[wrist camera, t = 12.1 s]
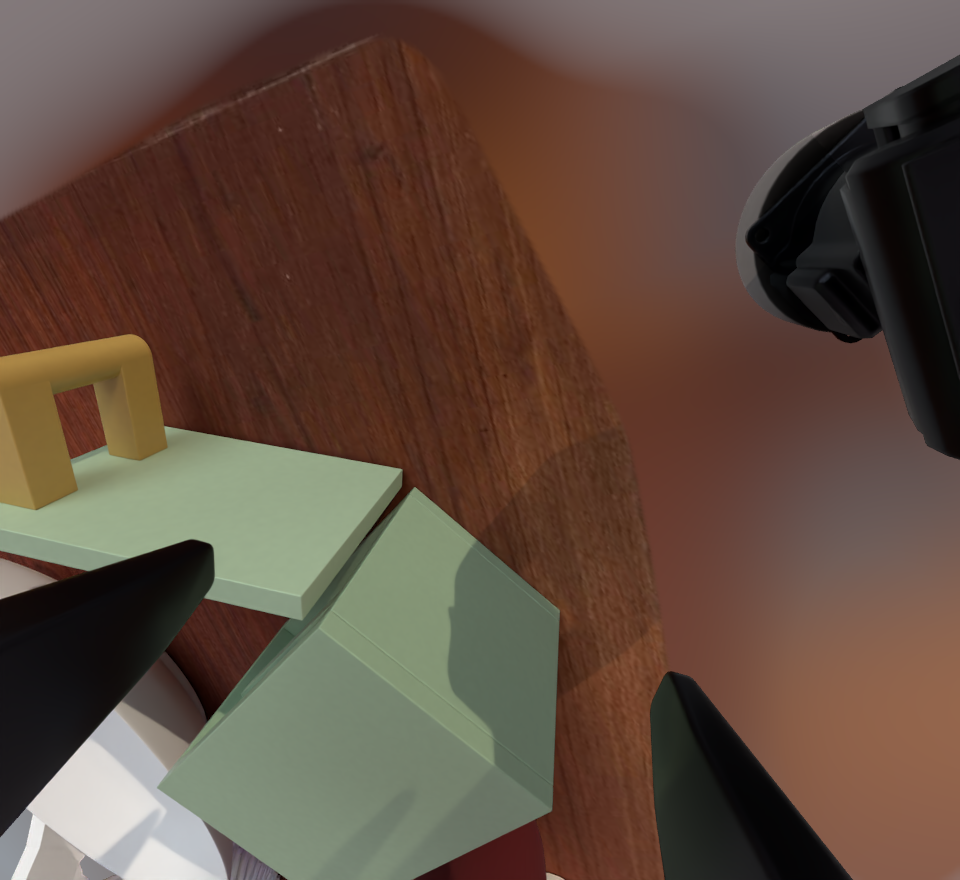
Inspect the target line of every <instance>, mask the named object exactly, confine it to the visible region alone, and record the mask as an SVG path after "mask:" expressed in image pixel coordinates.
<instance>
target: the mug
mask: <svg viewBox="0 0 960 880" xmlns="http://www.w3.org/2000/svg"><path fill="white" fill-rule="evenodd" d="M415 880H547V879H546V868H545V858H544V850H543V844H542V839H541V836H540V832H539V829H538V826H537V823H536V820H533V821H531V822H529V823H527V824H525V825H523V826H521V827H519V828H516V829H514V830H512V831H510V832H508V833H506V834H504V835H502V836H500V837H498V838H496V839H494V840H492V841H490V842H488V843H486V844H484V845H482V846H480V847H478V848H476V849H474V850H472V851H470V852H468V853H466V854H463V855H461V856H459V857H457V858H455V859H453V860H451V861H449V862H447V863H445V864H443V865H441V866H439V867H437V868H435V869H433V870H431V871H429V872H427V873H425V874H423V875H421V876H419V877H417V878H416V879H415Z"/></svg>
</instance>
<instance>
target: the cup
mask: <svg viewBox="0 0 960 880" xmlns="http://www.w3.org/2000/svg"><path fill="white" fill-rule="evenodd" d="M546 879H547V880H565V879H563V878H561V877H559V876H556V875H553V874H550V873H546Z"/></svg>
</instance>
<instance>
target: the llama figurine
mask: <svg viewBox="0 0 960 880" xmlns="http://www.w3.org/2000/svg"><path fill="white" fill-rule="evenodd" d="M85 855H86V854H84V853H83V852H81V851H80V850H79V849H77V848H76V847H75V846H73V845H72V844H70V843H69V842H68V841H66V840H65V839H64V838H63V837H61V836H60V835H59V834H57V833H56V832H55V831H53V830H52V829H51V828H50V827H48V826H47V825H46V824H45V823H43V822H42V821H41V820H40V819H39V818H37V817H36V816H35V815H34V814H33V817H32V822H31V827H30V831H29V835H28V840H27V844H26V848H25V850H24V852H23V855H22V857H21V859H20V861H19V863H18V866H17V868H16V871H15V872H14V875H13V877H12V879H11V880H89V879H88V878H87V877H86V876H84V875H83V874H82V872H83V871H82V868H81V866H80V861H81V860H82V859H83V858H84V857H85ZM104 880H124V879H123V878H121V877H119V876H118V875H113V876H111V877H109V878H106V879H104Z"/></svg>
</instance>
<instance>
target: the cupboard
mask: <svg viewBox="0 0 960 880" xmlns="http://www.w3.org/2000/svg"><path fill="white" fill-rule="evenodd" d="M559 620H560V610H559V609H557V608H556V607H555V606H554V605H553V604H551V603H550V602H549V601H548V600H547V599H546V598H544V597H543V596H542V595H541V594H540V593H539V592H537V591H536V590H535V589H534V588H533V587H532V586H530V585H529V584H528V583H527V582H526V581H525V580H523V579H522V578H521V577H520V576H519V575H518V574H516V573H515V572H514V571H513V570H512V569H510V568H509V567H508V566H507V565H506V564H505V563H503V562H502V561H501V560H500V559H499V558H498V557H496V556H495V555H494V554H493V553H492V552H491V551H489V550H488V549H487V548H486V547H485V546H484V545H482V544H481V543H480V542H479V541H478V540H477V539H475V538H474V537H473V536H472V535H471V534H469V533H468V532H467V531H466V530H465V529H464V528H462V527H461V526H460V525H459V524H458V523H457V522H455V521H454V520H453V519H452V518H451V517H450V516H448V515H447V514H446V513H445V512H444V511H443V510H441V509H440V508H439V507H438V506H437V505H436V504H434V503H433V502H432V501H431V500H430V499H428V498H427V497H426V496H425V495H424V494H423V493H421V492H420V491H419V490H418V489H417V488H416V487H414V488H413V489H412V490H411V491H410V492H409V493H408V495H407V496H406V497H405V498H404V499H403V500H402V501H401V502H400V503H399V504H398V505H397V506H396V507H395V508H394V509H393V510H392V511H391V512H390V513H389V514H388V516H387V517H386V518H385V519H384V520H383V521H382V522H381V523H380V524H379V525H378V526H377V527H376V528H375V529H374V530H373V531H372V532H371V533H370V534H369V536H368V537H367V538H366V539H365V540H364V541H363V542H362V543H361V544H360V545H359V546H358V547H357V548H356V549H355V550H354V552H353V553H352V555H351V556H350V557H349V559H348V560H347V561H346V563H345V564H344V565H343V567H342V568H341V569H340V571H339V572H338V573H337V575H336V576H335V577H334V579H333V580H332V582H331V583H330V584H329V586H328V587H327V588H326V590H325V591H324V592H323V594H322V595H321V596H320V598H319V599H318V600H317V602H316V603H315V604H314V606H313V607H312V608H311V610H310V611H309V613H308V614H307V615H306V617H305V618H304V619H303V620H302V621H301V620H297V619H293V618H290V619H289V620H288V621H287V622H286V623H285V624H284V625H283V626H282V628H281V629H280V630H279V631H278V633H277V634H276V635H275V637H274V638H273V639H272V640H271V642H270V643H269V644H268V646H267V647H266V648H265V649H264V651H263V652H262V653H261V654H260V656H259V657H258V658H257V660H256V661H255V662H254V663H253V665H252V666H251V667H250V669H249V670H248V671H247V672H246V674H245V675H244V676H243V677H242V679H241V680H240V681H239V683H238V684H237V685H236V686H235V688H234V689H233V690H232V691H231V693H230V694H229V695H228V697H227V698H226V699H225V700H224V702H223V703H222V704H221V705H220V707H219V708H218V709H217V711H216V712H215V713H214V714H213V716H212V717H211V718H210V720H209V721H208V722H207V723H206V725H205V726H204V727H203V728H202V730H201V731H200V732H199V734H198V735H197V736H196V737H195V739H194V740H193V741H192V742H191V744H190V745H189V746H188V748H187V749H186V750H185V751H184V753H183V754H182V755H181V757H180V758H179V759H178V760H177V762H176V763H175V764H174V765H173V767H172V768H171V769H170V771H169V772H168V773H167V774H166V776H165V777H164V778H163V779H162V781H161V782H160V783H159V785H158V786H157V789H159V790H160V791H162V792H163V793H165V794H166V795H167V796H169V797H170V798H172V799H173V800H175V801H176V802H177V803H179V804H180V805H182V806H183V807H185V808H186V809H187V810H189V811H190V812H192V813H193V814H195V815H196V816H198V817H199V818H200V819H202V820H203V821H205V822H206V823H208V824H209V825H210V826H212V827H213V828H215V829H216V830H218V831H219V832H220V833H222V834H223V835H225V836H226V837H228V838H229V839H230V840H232V841H233V842H235V843H236V844H238V845H239V846H240V847H242V848H243V849H245V850H246V851H248V852H249V853H250V854H252V855H253V856H255V857H256V858H258V859H259V860H260V861H262V862H263V863H265V864H266V865H268V866H269V867H270V868H272V869H273V870H275V871H276V872H278V873H279V874H280V875H282V876H283V877H285V878H286V879H288V880H413V879H415V878H417V877H419V876H421V875H423V874H425V873H427V872H429V871H431V870H433V869H435V868H437V867H439V866H441V865H443V864H445V863H447V862H449V861H451V860H453V859H455V858H457V857H459V856H461V855H463V854H466V853H468V852H470V851H472V850H474V849H476V848H478V847H480V846H482V845H484V844H486V843H488V842H490V841H492V840H494V839H496V838H498V837H500V836H502V835H504V834H506V833H508V832H510V831H512V830H514V829H516V828H519V827H521V826H523V825H525V824H527V823H529V822H531V821H533V820H535V819H537V818H539V817H541V816H543V815H545V814H547V813H549V812H551V811H552V805H553V787H552V786H553V776H554V750H555V723H556V697H557V670H558V643H559Z"/></svg>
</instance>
